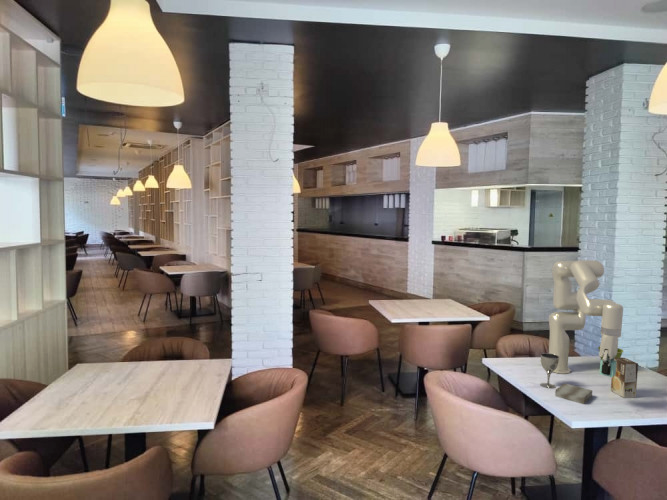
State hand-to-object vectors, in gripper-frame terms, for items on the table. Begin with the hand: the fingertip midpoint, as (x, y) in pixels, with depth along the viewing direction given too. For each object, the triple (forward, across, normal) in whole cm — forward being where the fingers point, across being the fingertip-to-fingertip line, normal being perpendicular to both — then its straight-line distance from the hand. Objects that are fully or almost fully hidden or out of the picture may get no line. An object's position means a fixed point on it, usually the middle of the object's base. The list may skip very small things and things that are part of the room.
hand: (607, 372), depth 197 cm
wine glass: (+15, -4, -26) cm, 30 cm away
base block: (+15, 0, -12) cm, 20 cm away
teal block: (+1, 0, 0) cm, 1 cm away
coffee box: (+15, -20, +2) cm, 26 cm away
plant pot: (+16, -56, -12) cm, 59 cm away
